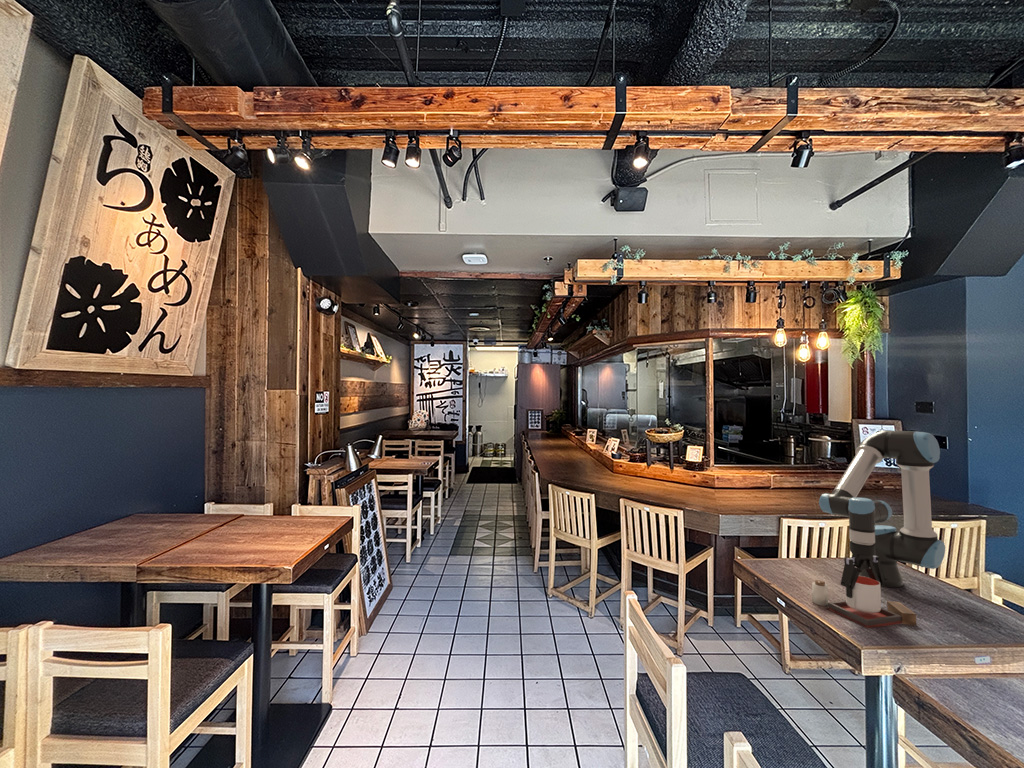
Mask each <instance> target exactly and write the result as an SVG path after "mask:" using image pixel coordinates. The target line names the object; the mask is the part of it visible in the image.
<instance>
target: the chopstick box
mask: <svg viewBox="0 0 1024 768" xmlns="http://www.w3.org/2000/svg"><path fill="white" fill-rule="evenodd" d="M886 606H887V608H886V610H888V611H890V612H893V613H895V614H897V615H900V616H901V619H902V623H901V624H902V625H909V626H917V613H915V612H913V611H912V609H909V608H908V607H907V606H905V605H904V604H902V603H901V602H900V601H892V600H891V601H890V600H887V601H886Z"/></svg>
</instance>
